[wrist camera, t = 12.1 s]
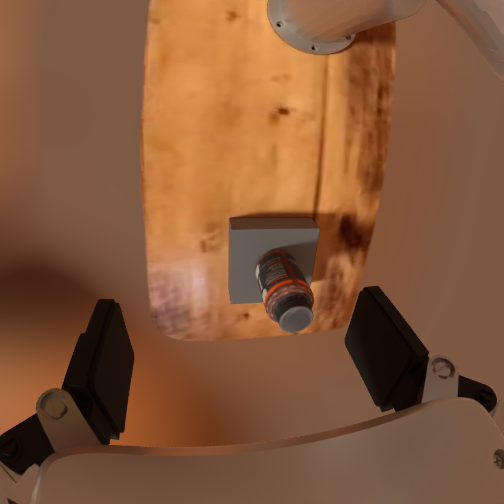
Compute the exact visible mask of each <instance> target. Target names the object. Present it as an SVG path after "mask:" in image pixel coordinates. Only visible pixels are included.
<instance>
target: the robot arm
mask: <svg viewBox="0 0 504 504" xmlns="http://www.w3.org/2000/svg"><path fill="white" fill-rule="evenodd" d="M425 1H426V0H268V3H267V14H268V19H269V21H270V24H271V26H272V28H273V29H274V31H275V32H276V34H277V35H278V36H279V37H280V38H281V39H282V40H283V41H285V42H286V43H287V44H288V45H290V46H292V47H293V48H295V49H297V50H300V51H302V52H305V53H309V54H314V55H326V54H332V53H335V52H338V51H340V50H342V49H344V48H346V47H347V46H348V45H349V44H350V43H351V42H352V41H353V40H354V38H355V36H356V34H357V33H358V32H361V31H364V30H367V29H370V28H373V27H376V26H379V25H383V24H386V23H389V22H393V21H397V20H400V19H404V18H407V17H409V16H411V15H413V14H414V13H416V12H417V11H418V10H419V9H420V8H421V7H422V6H423V4H424V3H425ZM436 1H437V2H438V3H439V4H440V5H441V6H442V7H443V8H444V9H445V10H446V11H447V12H448V13H449V14H450V15H451V17H452V18H453V19H454V20H455V21H456V23H457V24H458V25H459V26H460V28H461V29H462V30H463V31H464V33H465V34H466V35H467V37H468V38H469V39H470V41H471V42H472V43H473V44H474V46H475V48H476V49H477V50H478V52H479V53H480V54H481V56H482V57H483V59H484V60H485V62H486V63H487V64H488V66H489V67H490V68H491V69H492V71H493V72H494V73H495V74H496V75H497V76H498V77H499V78H500V79H501V80H502V81H504V0H436ZM277 24H278V25H280V27H278V26H277ZM346 37H347V39H346ZM312 47H313V48H314V50H312ZM345 345H346V348H347V350H348V351H349V354H350V355H351V357H352V359H353V361H354V363H355V365H356V367H357V369H358V371H359V373H360V375H361V377H362V379H363V381H364V383H365V385H366V387H367V389H368V391H369V393H370V395H371V397H372V399H373V401H374V403H375V405H376V406H379V407H380V409H381V411H382V412H384V411H388V410H391V409H393V408H394V409H395V411H396V412H395V413H392V414H388V415H385V416H382V417H379V418H375V419H372V420H369V421H365V422H362V423H358V424H354V425H350V426H346V427H342V428H338V429H334V430H330V431H325V432H321V433H316V434H311V435H305V436H300V437H294V438H289V439H282V440H275V441H268V442H260V443H251V444H241V445H230V446H213V447H141V446H120V445H109V444H110V439H117V440H119V435H120V433H123V432H124V429H125V420H126V412H127V404H128V396H129V390H130V383H131V377H132V370H133V364H134V352H133V349H132V346H131V342H130V339H129V336H128V333H127V329H126V326H125V322H124V319H123V315H122V312H121V308H120V305H119V303H115V301H114V299H99V300H98V302H97V304H96V306H95V309H94V312H93V314H92V316H91V319H90V322H89V324H88V327H87V330H86V332H85V333H82V334H81V335H80V336H79V339H78V341H77V344H76V347H75V349H74V352H73V355H72V358H71V361H70V363H69V366H68V369H67V372H66V375H65V379H64V382H63V385H62V388H61V389H59V388H54V389H53V388H52V389H49V390H47V391H45V392H44V393H42V395H41V396H40V397H39V398H38V401H37V403H36V411H37V413H36V414H34V415H32V416H31V417H29V418H28V419H26V420H25V421H23V422H21V423H19V424H18V425H16V426H15V427H13V428H11V429H10V430H8V431H6V432H5V433H3V434H2V435H1V436H0V504H30V503H31V504H504V403H503V402H502V401H501V400H499V401H498V402H497V397H496V395H495V393H494V391H493V390H492V389H491V388H490V387H489V386H487V385H485V384H482V383H479V382H476V381H474V380H471V379H468V378H465V377H463V376H460V375H459V372H458V367H457V365H456V364H455V363H454V362H453V360H451V359H450V358H449V357H446V356H444V355H435V356H433V357H431V358H429V357H428V354H429V352H428V350H427V349H426V347H425V346H424V345H423V343H422V342H421V341H420V339H419V338H418V337H417V335H416V334H415V333H414V331H413V330H412V329H411V327H410V326H409V325H408V323H407V322H406V321H405V319H404V318H403V317H402V315H401V314H400V313H399V311H398V310H397V309H396V308H395V306H394V305H393V304H392V303H391V301H390V300H389V299H388V297H387V296H386V295H385V294H384V292H383V291H382V290H381V289H380V288H379V287H378V286H370V287H365V288H364V289H363V290H362V291H360V293H359V296H358V299H357V302H356V306H355V309H354V312H353V315H352V318H351V321H350V325H349V328H348V331H347V334H346V337H345Z"/></svg>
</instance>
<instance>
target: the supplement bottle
mask: <svg viewBox="0 0 504 504" xmlns="http://www.w3.org/2000/svg"><path fill="white" fill-rule="evenodd" d="M255 274H256V279H257V282H258V285H259V289H260V292H261V295H262V299H263V302H264V306H265V309H266V312H267V314H268V316H269V317H270V318H271V319H272V320H273V321H275V322H278V323H279V326H280V327H281V329H282V330H284V331H286V332H289V333H294V332H299V331H302V330H304V329H305V328H307V327H308V326H309V325H310V324H311V322H312V320H313V312H312V307H313V304H314V296H313V293H312V291H311V289H310V286H309V285H308V283H307V281H306V279H305V277H304V275H303V273H302V271H301V269H300V268H299V266H298V264H297V262H296V260H295V259H294V257H293V256H292V255H291V254H290V253H288V252H286V251H283V250H273V251H270V252H268V253H266V254H264V255H263V256H262V257H261V258H260V259H259V260H258V262H257V264H256V267H255Z"/></svg>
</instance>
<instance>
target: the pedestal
mask: <svg viewBox="0 0 504 504" xmlns="http://www.w3.org/2000/svg"><path fill="white" fill-rule="evenodd" d="M319 231H320V228H319V227H318V226H317V225H316V223H315V222H314V221H313V220H312V219H311V218H301V217H293V218H229V295H230V302H231V304H241V303H259V302H263V299H262V295H261V292H260V289H259V285H258V282H257V279H256V274H255V267H256V264H257V262H258V260H259V259H260V258H261V257H262V256H263V255H264V254H266V253H268V252H270V251H273V250H283V251H286V252H288V253H290V254H291V255H292V256H293V257H294V259H295V260H296V262H297V264H298V266H299V268H300V269H301V271H302V273H303V275H304V277H305V279H306V281H307V283H308V285H309V286H310V285H311V279H312V274H313V268H314V262H315V256H316V250H317V244H318V238H319Z"/></svg>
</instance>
